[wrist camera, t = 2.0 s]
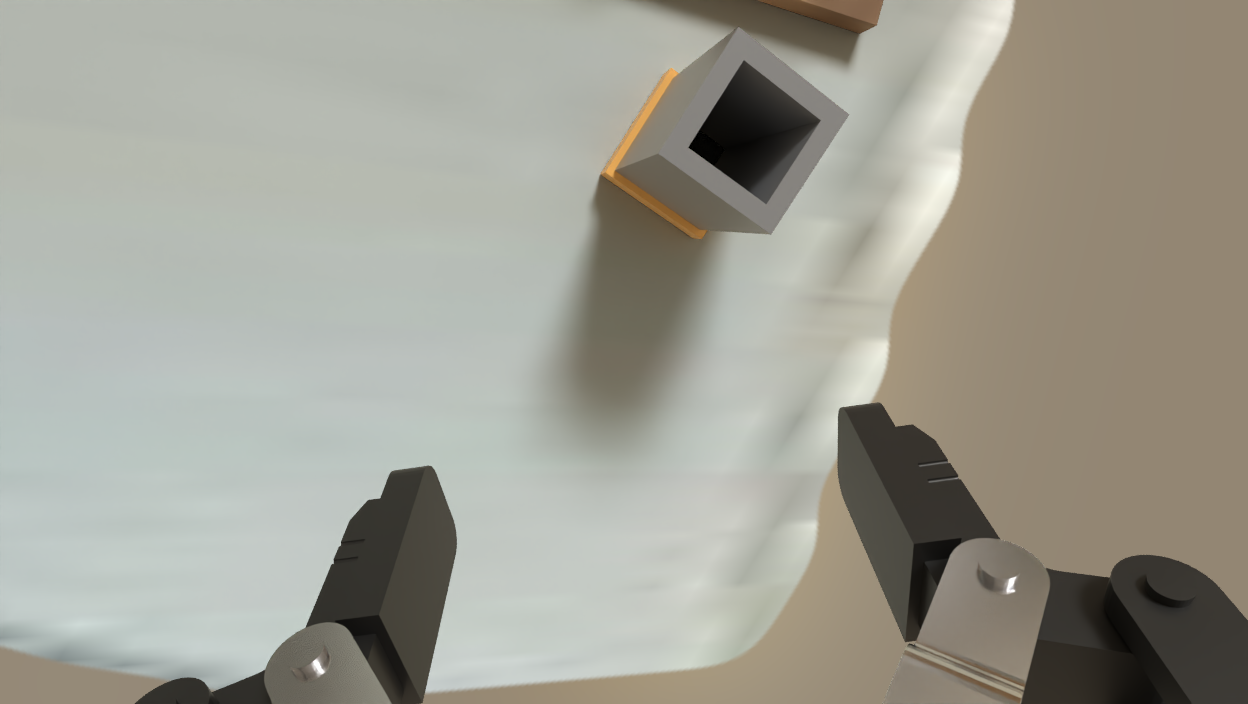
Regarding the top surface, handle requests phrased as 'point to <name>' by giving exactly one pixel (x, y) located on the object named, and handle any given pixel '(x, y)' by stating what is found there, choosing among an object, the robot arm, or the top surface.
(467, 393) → the top surface
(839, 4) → the pinboard
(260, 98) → the top surface
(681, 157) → the sleeve
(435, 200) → the top surface
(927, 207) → the top surface
